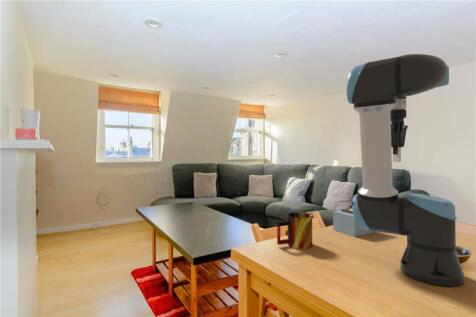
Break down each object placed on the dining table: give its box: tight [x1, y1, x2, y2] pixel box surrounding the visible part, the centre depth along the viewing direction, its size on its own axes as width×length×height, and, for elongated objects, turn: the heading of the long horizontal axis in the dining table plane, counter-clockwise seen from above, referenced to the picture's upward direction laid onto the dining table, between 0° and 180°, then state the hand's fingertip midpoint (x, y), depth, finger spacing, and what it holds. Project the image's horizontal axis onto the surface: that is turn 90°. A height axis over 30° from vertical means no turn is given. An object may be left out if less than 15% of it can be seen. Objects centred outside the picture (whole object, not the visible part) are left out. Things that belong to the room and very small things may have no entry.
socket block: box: [332, 207, 376, 238], centre depth 122 cm, size 14×12×10 cm
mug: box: [276, 211, 313, 250], centre depth 103 cm, size 10×14×12 cm
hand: (396, 161), depth 118 cm, fingers closed
